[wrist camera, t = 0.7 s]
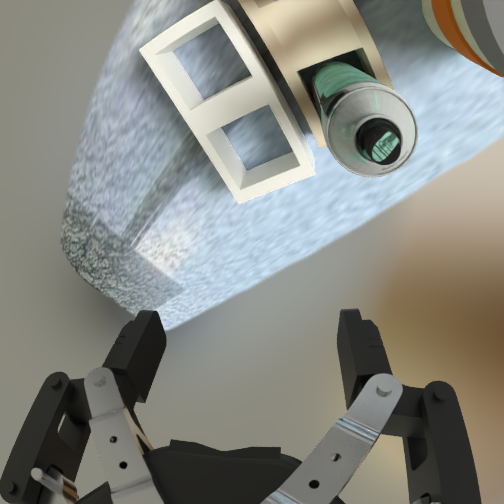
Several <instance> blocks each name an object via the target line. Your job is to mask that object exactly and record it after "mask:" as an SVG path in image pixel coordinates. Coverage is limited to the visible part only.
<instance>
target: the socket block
mask: <svg viewBox="0 0 504 504" xmlns="http://www.w3.org/2000/svg"><path fill="white" fill-rule="evenodd" d="M238 1H239V3H240V4H241V6H242V7H243V9H244V10H245V12H246V14H247V15H248V17H249V18H250V20H251V21H252V23H253V25H254V26H255V28H256V29H257V31H258V33H259V34H260V36H261V38H262V39H263V41H264V43H265V44H266V46H267V48H268V49H269V51H270V53H271V55H272V56H273V58H274V60H275V62H276V63H277V65H278V67H279V69H280V71H281V72H282V74H283V76H284V78H285V80H286V82H287V83H288V85H289V87H290V89H291V91H292V93H293V95H294V97H295V99H296V100H297V102H298V104H299V106H300V108H301V110H302V112H303V114H304V116H305V118H306V120H307V122H308V124H309V126H310V129H311V131H312V133H313V135H314V137H315V139H316V141H317V143H318V145H319V148H322V147H325V146H327V144H326V142H325V139H324V135H323V131H322V126H321V122H320V118H319V114H318V110H317V107H316V105H315V103H314V101H313V99H312V97H311V94H310V92H309V91H308V89H307V87H306V85H305V83H304V81H303V79H302V77H301V75H300V73H299V70H301V69H304V68H306V67H309V66H311V65H314V64H316V63H319V62H322V61H324V60H327V59H330V58H333V57H335V56H338V55H341V54H344V53H347V52H350V51H353V50H356V52H357V55H358V57H359V59H360V61H361V63H362V65H363V68H364V70H365V72H366V74H367V75H369V76H371V77H373V78H374V79H376V80H378V81H379V82H381V83H383V84H384V85H386V86H388V87H389V88H391V89H393V86H392V84H391V81H390V78H389V76H388V73H387V71H386V68H385V66H384V64H383V61H382V59H381V57H380V54H379V52H378V50H377V48H376V45H375V43H374V41H373V39H372V37H371V35H370V33H369V31H368V28H367V26H366V24H365V22H364V20H363V19H362V17H361V15H360V13H359V11H358V9H357V7H356V5H355V3H354V2H353V0H278V1H275V2H274V0H238ZM393 90H394V89H393Z"/></svg>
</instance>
